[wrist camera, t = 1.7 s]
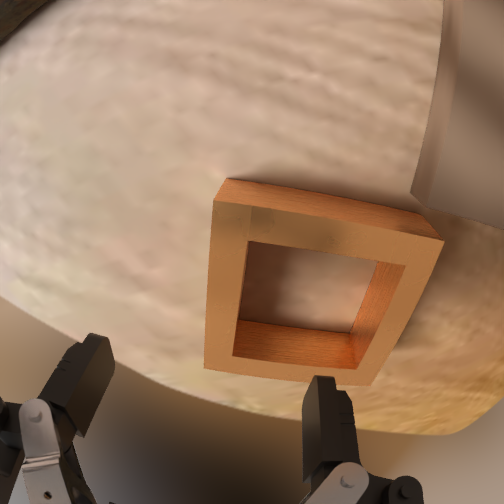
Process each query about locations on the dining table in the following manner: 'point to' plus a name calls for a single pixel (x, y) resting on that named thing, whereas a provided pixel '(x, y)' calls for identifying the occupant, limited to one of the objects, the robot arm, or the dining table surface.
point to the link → (324, 240)
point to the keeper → (466, 117)
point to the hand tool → (15, 13)
